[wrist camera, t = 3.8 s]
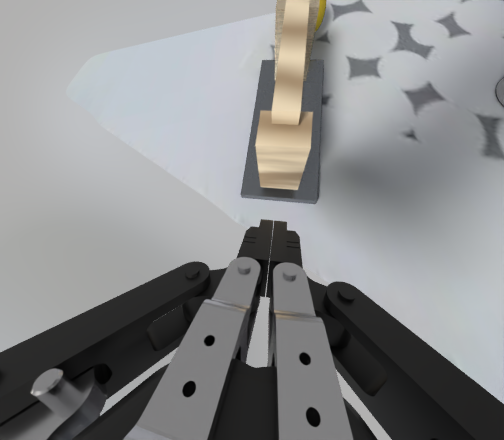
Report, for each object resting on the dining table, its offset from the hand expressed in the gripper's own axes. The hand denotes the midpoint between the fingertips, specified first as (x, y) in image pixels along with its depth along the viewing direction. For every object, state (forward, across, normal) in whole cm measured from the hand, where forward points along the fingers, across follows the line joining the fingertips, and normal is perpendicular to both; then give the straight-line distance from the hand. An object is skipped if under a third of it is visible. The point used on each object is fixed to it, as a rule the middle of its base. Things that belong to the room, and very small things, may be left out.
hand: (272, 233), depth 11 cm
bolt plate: (+27, 0, -4) cm, 27 cm away
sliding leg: (+23, 0, -4) cm, 24 cm away
